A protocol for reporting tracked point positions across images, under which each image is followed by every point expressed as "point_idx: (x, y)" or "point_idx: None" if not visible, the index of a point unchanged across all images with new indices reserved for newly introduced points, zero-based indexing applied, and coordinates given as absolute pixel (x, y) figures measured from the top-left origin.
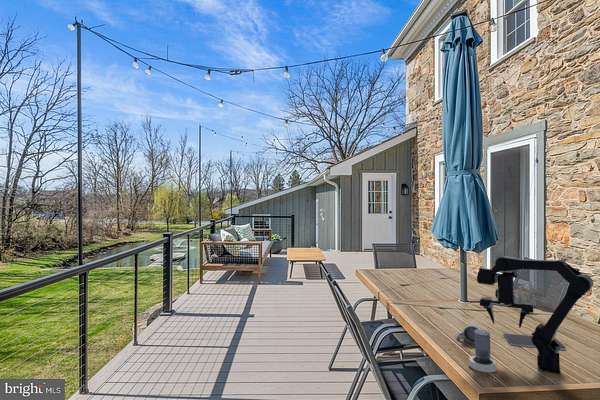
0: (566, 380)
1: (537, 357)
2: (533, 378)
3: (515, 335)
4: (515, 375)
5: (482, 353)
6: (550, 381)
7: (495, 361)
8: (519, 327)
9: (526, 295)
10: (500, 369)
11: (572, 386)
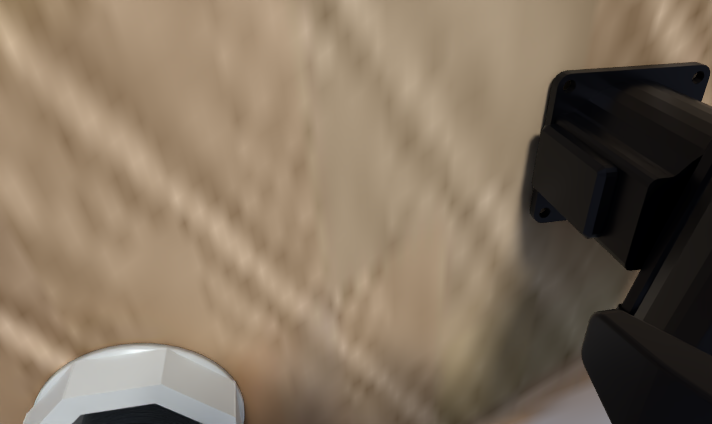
0: None
1: (574, 226)
2: (472, 365)
3: None
4: (369, 393)
5: None
6: (563, 341)
7: (228, 416)
8: (592, 371)
9: None
10: (265, 373)
11: None
